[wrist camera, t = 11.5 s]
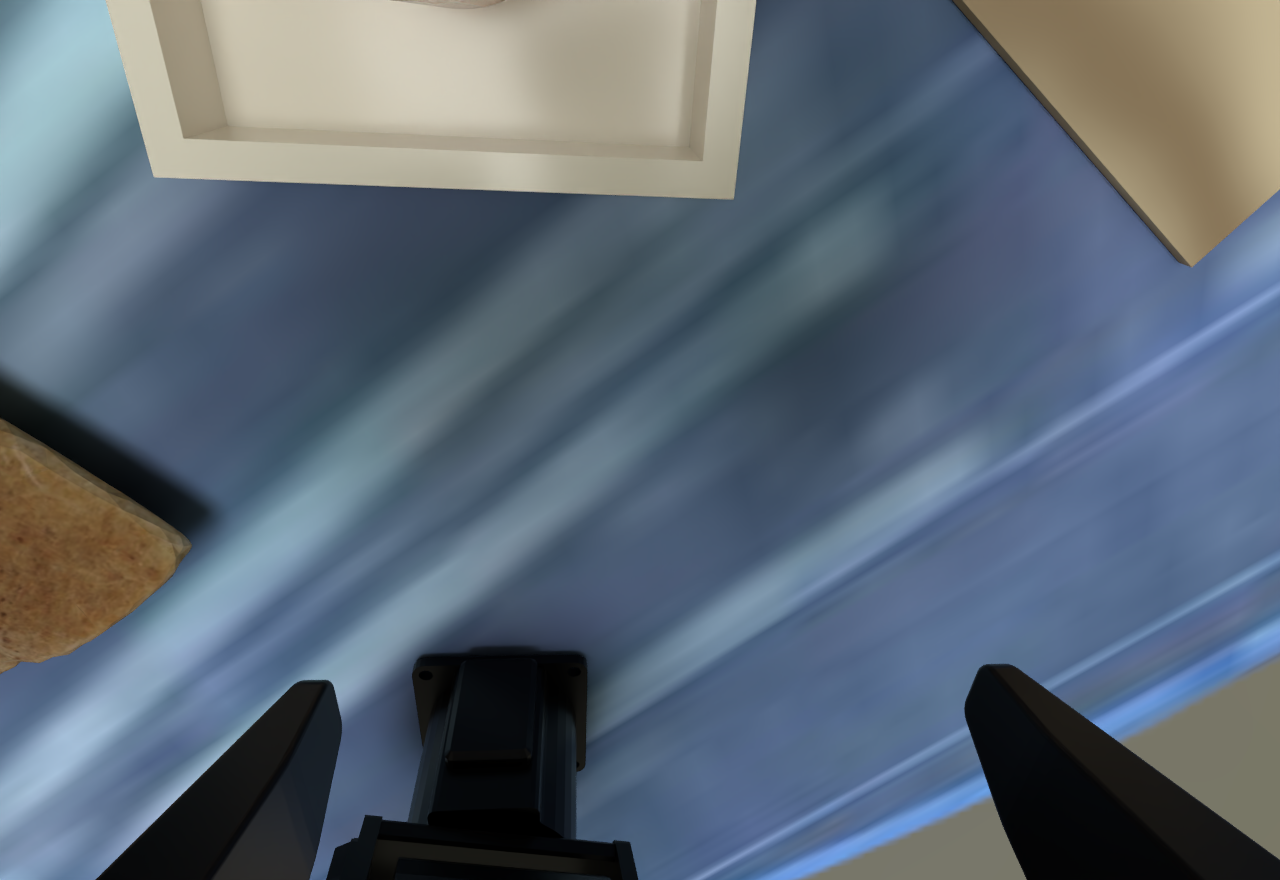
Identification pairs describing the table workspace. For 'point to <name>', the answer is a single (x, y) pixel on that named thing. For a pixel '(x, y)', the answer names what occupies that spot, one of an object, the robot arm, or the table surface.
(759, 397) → the table surface
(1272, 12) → the beech board
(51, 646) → the brown flared stand
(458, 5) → the terracotta jar
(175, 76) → the cream dish
